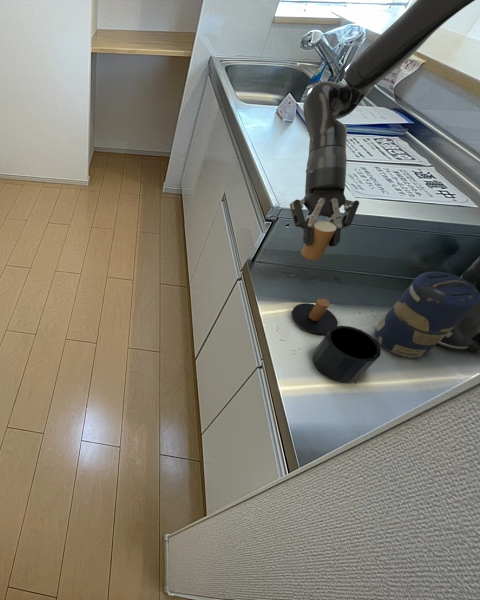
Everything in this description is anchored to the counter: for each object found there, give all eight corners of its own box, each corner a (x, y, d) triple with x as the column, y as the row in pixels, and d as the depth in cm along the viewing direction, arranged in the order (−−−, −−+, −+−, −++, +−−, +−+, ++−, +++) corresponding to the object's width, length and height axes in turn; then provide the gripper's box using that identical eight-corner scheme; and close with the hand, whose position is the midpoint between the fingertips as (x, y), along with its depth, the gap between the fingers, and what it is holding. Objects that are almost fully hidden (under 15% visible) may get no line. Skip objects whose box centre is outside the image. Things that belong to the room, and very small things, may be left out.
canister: (433, 363, 71) (502, 301, 58) (381, 357, 73) (437, 296, 60) (412, 328, 78) (470, 266, 65) (364, 324, 79) (411, 263, 67)
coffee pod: (323, 252, 84) (337, 223, 78) (320, 262, 81) (334, 233, 76) (303, 247, 86) (315, 219, 80) (299, 256, 83) (312, 228, 78)
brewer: (363, 359, 73) (382, 336, 68) (358, 390, 68) (379, 368, 63) (316, 342, 77) (331, 319, 72) (308, 370, 72) (324, 348, 67)
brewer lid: (338, 315, 82) (350, 297, 78) (332, 342, 77) (345, 323, 72) (295, 301, 86) (304, 283, 82) (286, 325, 81) (296, 307, 76)
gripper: (299, 165, 77) (294, 241, 77) (371, 165, 74) (366, 243, 74) (285, 177, 84) (280, 247, 84) (350, 177, 82) (345, 249, 82)
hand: (321, 245), depth 79 cm, fingers closed on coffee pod, 4 cm apart
